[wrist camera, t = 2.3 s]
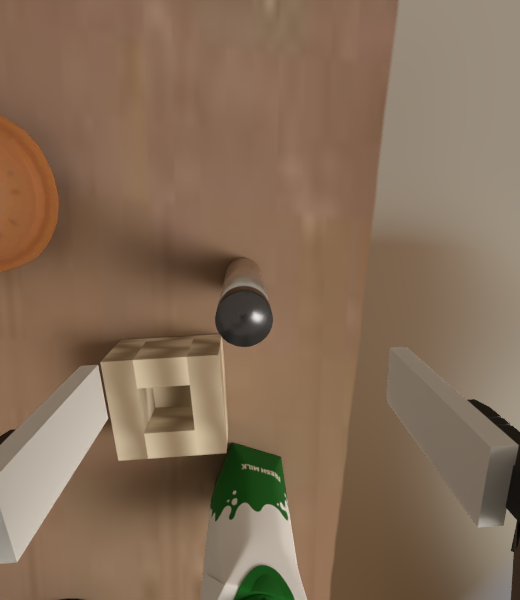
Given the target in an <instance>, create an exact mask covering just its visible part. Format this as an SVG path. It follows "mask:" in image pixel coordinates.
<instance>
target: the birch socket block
mask: <svg viewBox="0 0 520 600" xmlns="http://www.w3.org/2000/svg"><path fill="white" fill-rule="evenodd" d="M100 363H101V369H102V374H103V379H104V385H105V390H106V396H107V401H108V407H109V412H110V417H111V423H112V428H113V434H114V439H115V445H116V450H117V455H118V461H123V460H137V459H151V458H165V457H179V456H193V455H207V454H221V453H227V439H228V424H229V418H228V406H227V393H226V380H225V368H224V355H223V342H222V336H221V335H220V334H213V335H196V336H179V337H162V338H144V339H127V340H120V341H119V342H118V343H117V344H116V345H115V347H114V348H113V349H112V350H111V351H110V352H109V353H108V354H107V355H106V356H105V358H104V359H103V360H102V361H101V362H100Z"/></svg>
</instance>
